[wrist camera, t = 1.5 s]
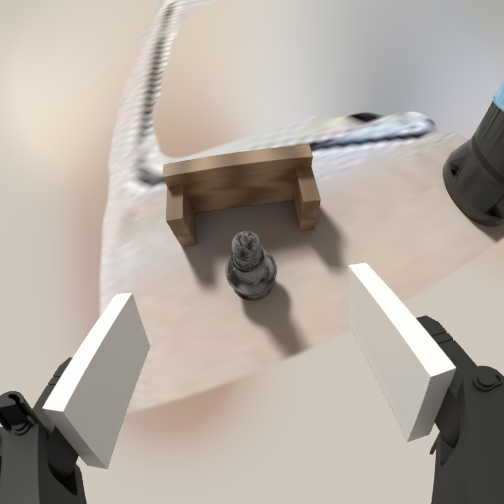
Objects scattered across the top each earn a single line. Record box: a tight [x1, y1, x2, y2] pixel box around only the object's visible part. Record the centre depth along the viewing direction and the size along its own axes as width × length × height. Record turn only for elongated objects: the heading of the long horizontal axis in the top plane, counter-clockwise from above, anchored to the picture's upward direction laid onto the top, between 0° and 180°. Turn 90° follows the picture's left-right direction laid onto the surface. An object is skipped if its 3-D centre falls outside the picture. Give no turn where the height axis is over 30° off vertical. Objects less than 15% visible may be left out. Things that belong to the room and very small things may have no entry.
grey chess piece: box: [226, 231, 277, 300], centre depth 33 cm, size 6×6×12 cm
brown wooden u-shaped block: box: [163, 145, 321, 246], centre depth 39 cm, size 18×7×9 cm, turn 97°
